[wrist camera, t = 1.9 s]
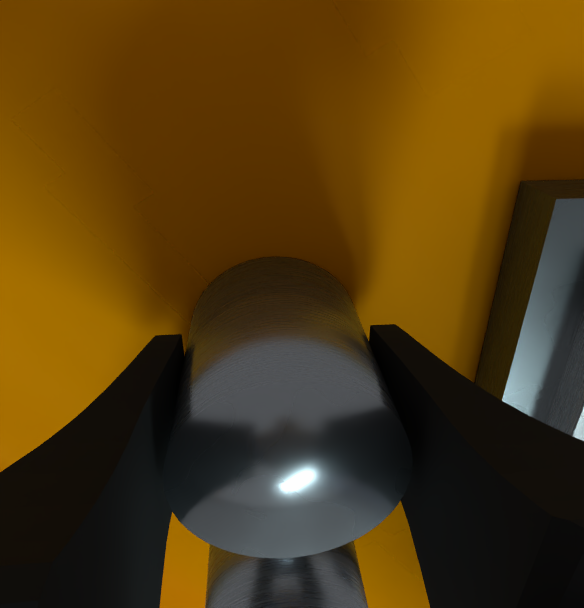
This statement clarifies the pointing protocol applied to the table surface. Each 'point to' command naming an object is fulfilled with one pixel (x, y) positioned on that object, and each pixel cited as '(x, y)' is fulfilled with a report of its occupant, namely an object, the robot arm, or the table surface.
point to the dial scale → (540, 309)
